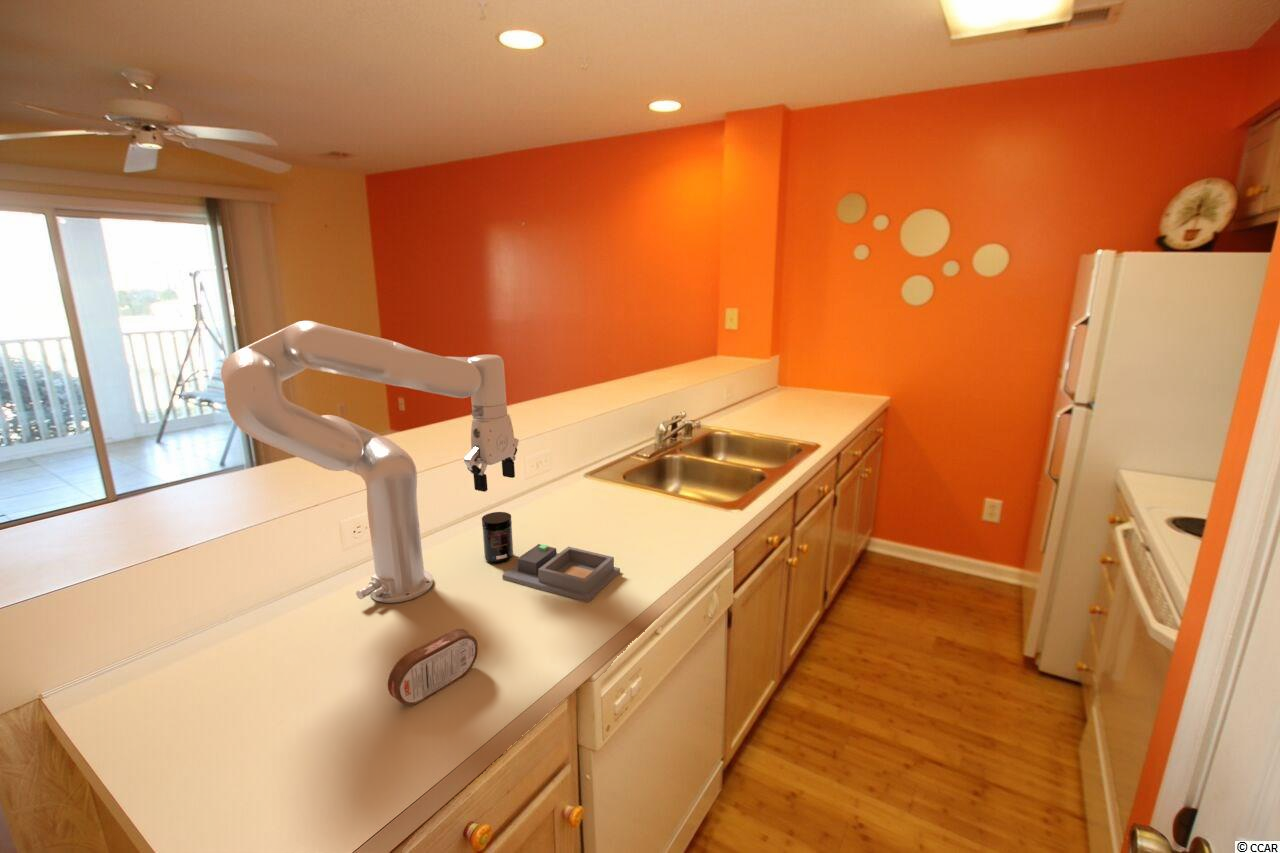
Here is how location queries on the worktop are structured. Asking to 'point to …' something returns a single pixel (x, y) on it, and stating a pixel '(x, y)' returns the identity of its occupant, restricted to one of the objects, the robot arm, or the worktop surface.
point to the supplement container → (497, 537)
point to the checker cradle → (564, 571)
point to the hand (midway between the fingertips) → (495, 483)
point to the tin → (432, 666)
